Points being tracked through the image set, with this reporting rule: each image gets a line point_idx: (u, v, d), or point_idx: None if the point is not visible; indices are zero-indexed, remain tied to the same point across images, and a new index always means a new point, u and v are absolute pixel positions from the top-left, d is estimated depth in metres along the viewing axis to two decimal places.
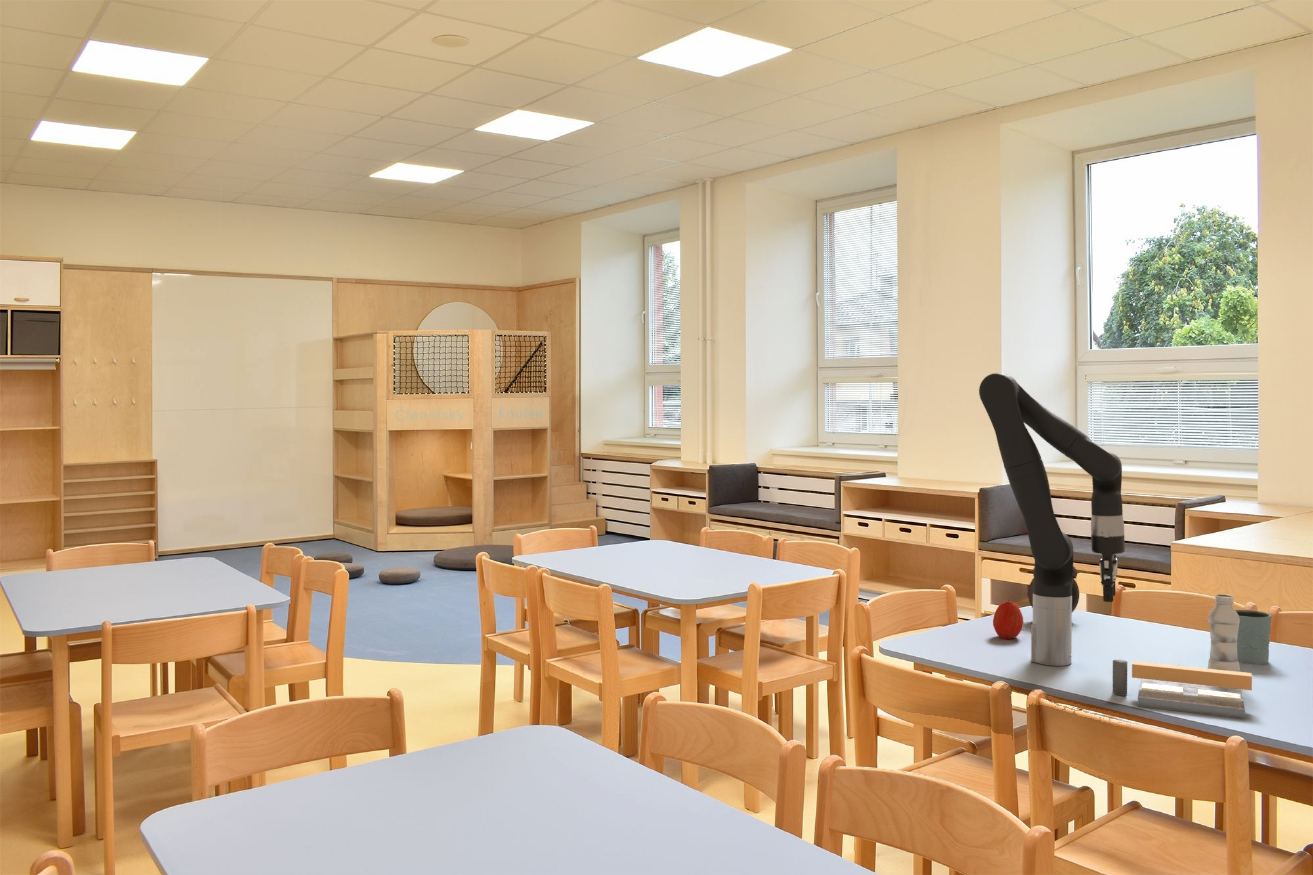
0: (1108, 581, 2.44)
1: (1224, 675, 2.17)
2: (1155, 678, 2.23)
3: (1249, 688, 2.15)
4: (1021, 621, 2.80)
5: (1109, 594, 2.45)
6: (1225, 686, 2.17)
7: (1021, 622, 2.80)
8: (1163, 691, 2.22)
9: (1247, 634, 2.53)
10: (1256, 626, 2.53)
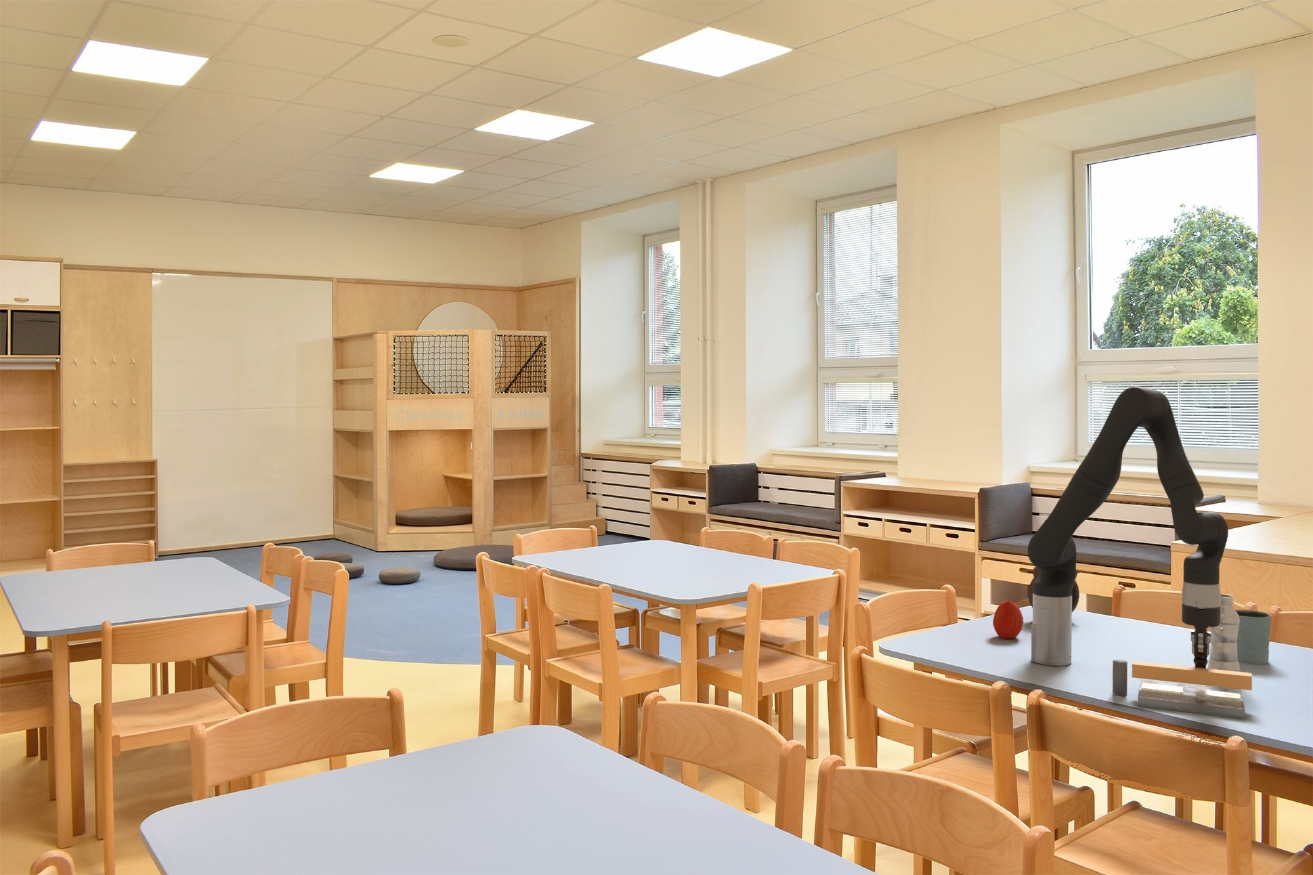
0: (1202, 659, 2.21)
1: (1224, 675, 2.17)
2: (1155, 678, 2.23)
3: (1249, 688, 2.15)
4: (1021, 621, 2.80)
5: None
6: (1225, 686, 2.17)
7: (1021, 622, 2.80)
8: (1163, 691, 2.22)
9: (1247, 634, 2.53)
10: (1256, 626, 2.53)
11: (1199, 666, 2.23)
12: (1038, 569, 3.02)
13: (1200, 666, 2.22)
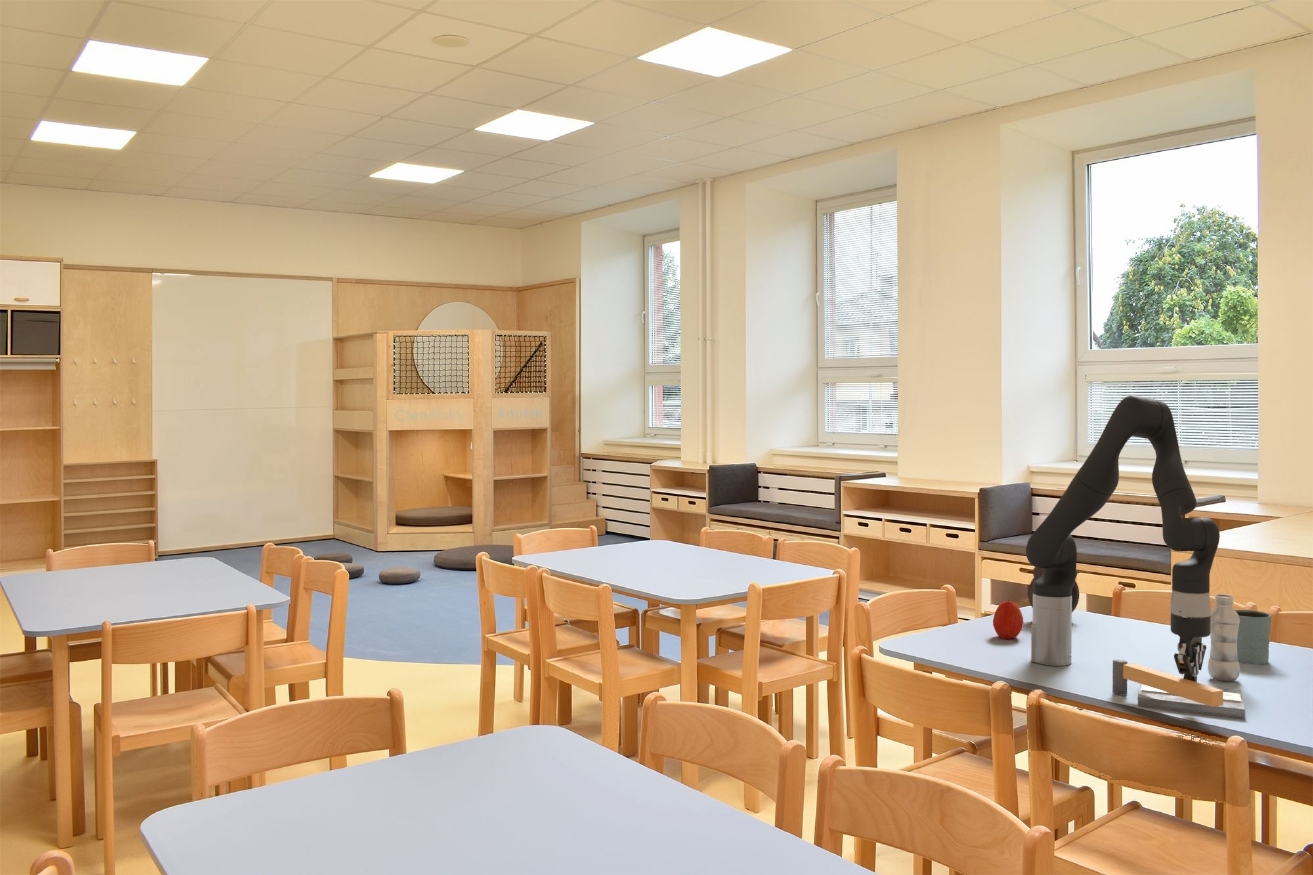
0: (1187, 671, 2.12)
1: (1191, 687, 2.08)
2: (1139, 681, 2.20)
3: (1210, 704, 2.04)
4: (1021, 621, 2.80)
5: None
6: (1191, 699, 2.08)
7: (1021, 622, 2.80)
8: (1163, 691, 2.22)
9: (1247, 634, 2.53)
10: (1256, 626, 2.53)
11: (1186, 677, 2.14)
12: (1038, 569, 3.02)
13: (1187, 677, 2.14)
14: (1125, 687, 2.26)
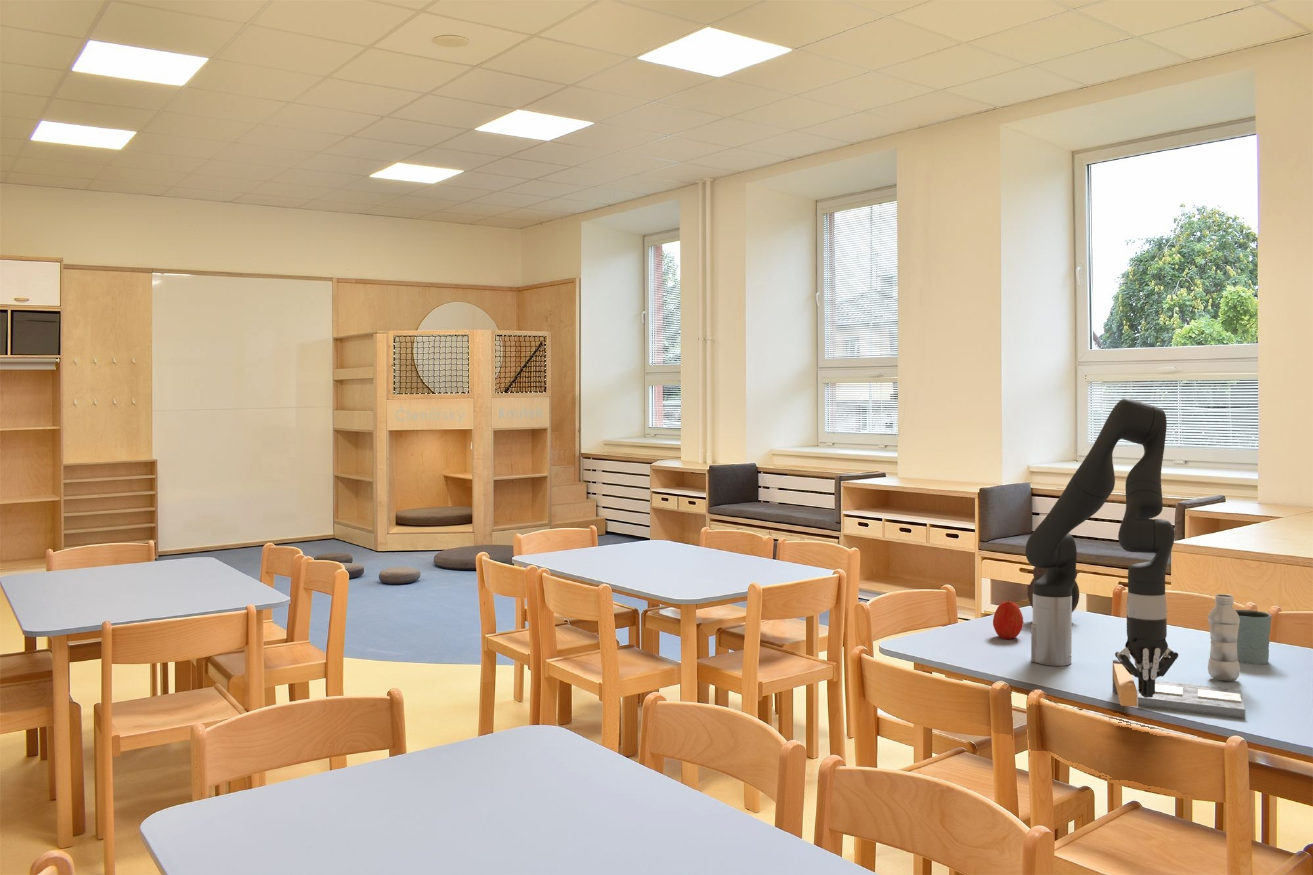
0: None
1: (1119, 685, 2.09)
2: (1114, 680, 2.21)
3: (1120, 703, 2.05)
4: (1021, 621, 2.80)
5: (1141, 687, 2.11)
6: None
7: (1021, 622, 2.80)
8: (1163, 691, 2.22)
9: (1248, 634, 2.53)
10: (1256, 626, 2.53)
11: (1139, 679, 2.12)
12: (1038, 569, 3.02)
13: (1140, 680, 2.12)
14: None
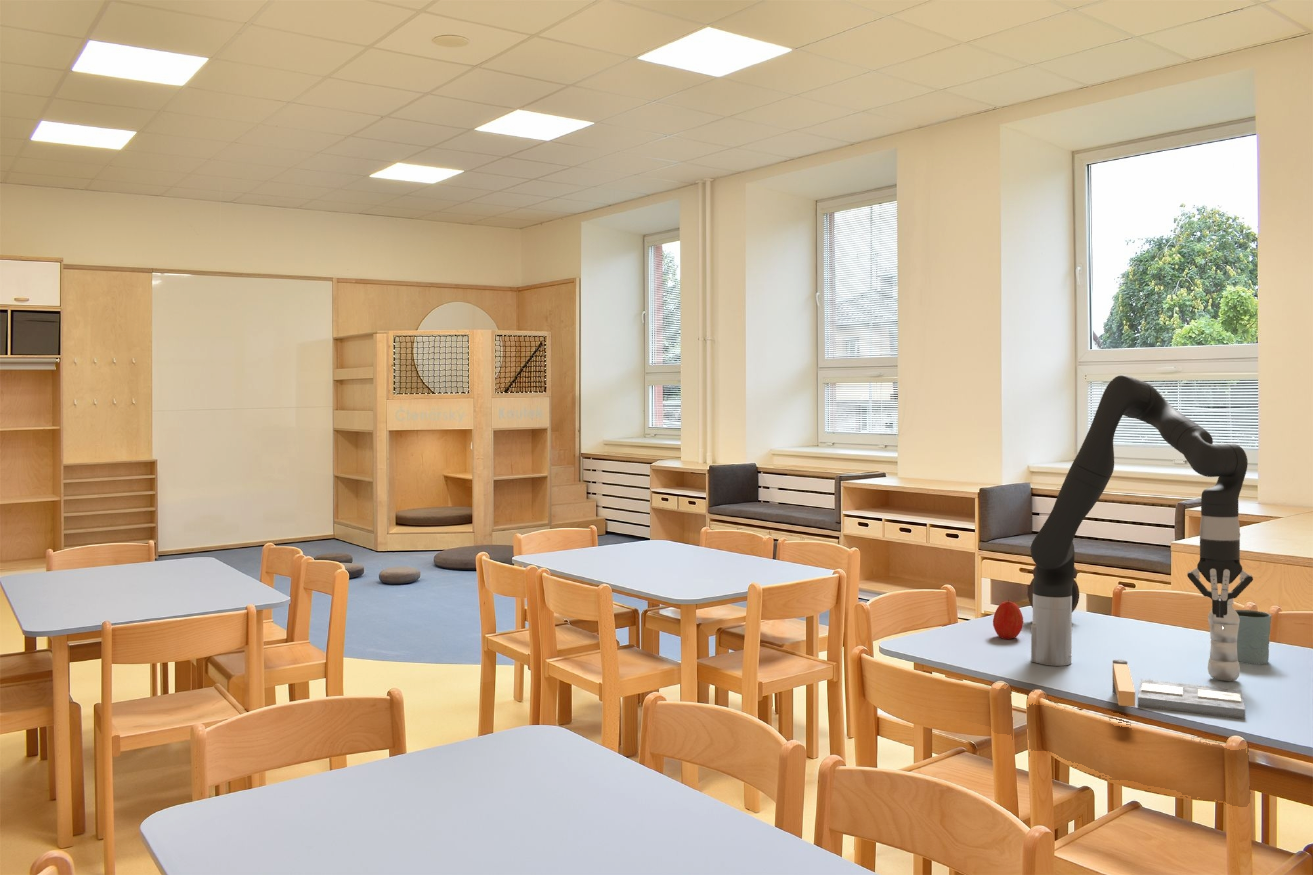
0: None
1: (1117, 685, 2.09)
2: None
3: (1118, 702, 2.05)
4: (1021, 621, 2.80)
5: (1212, 607, 2.18)
6: (1117, 697, 2.09)
7: (1021, 622, 2.80)
8: (1163, 691, 2.22)
9: (1247, 634, 2.53)
10: (1256, 626, 2.53)
11: (1212, 600, 2.19)
12: None
13: None
14: None
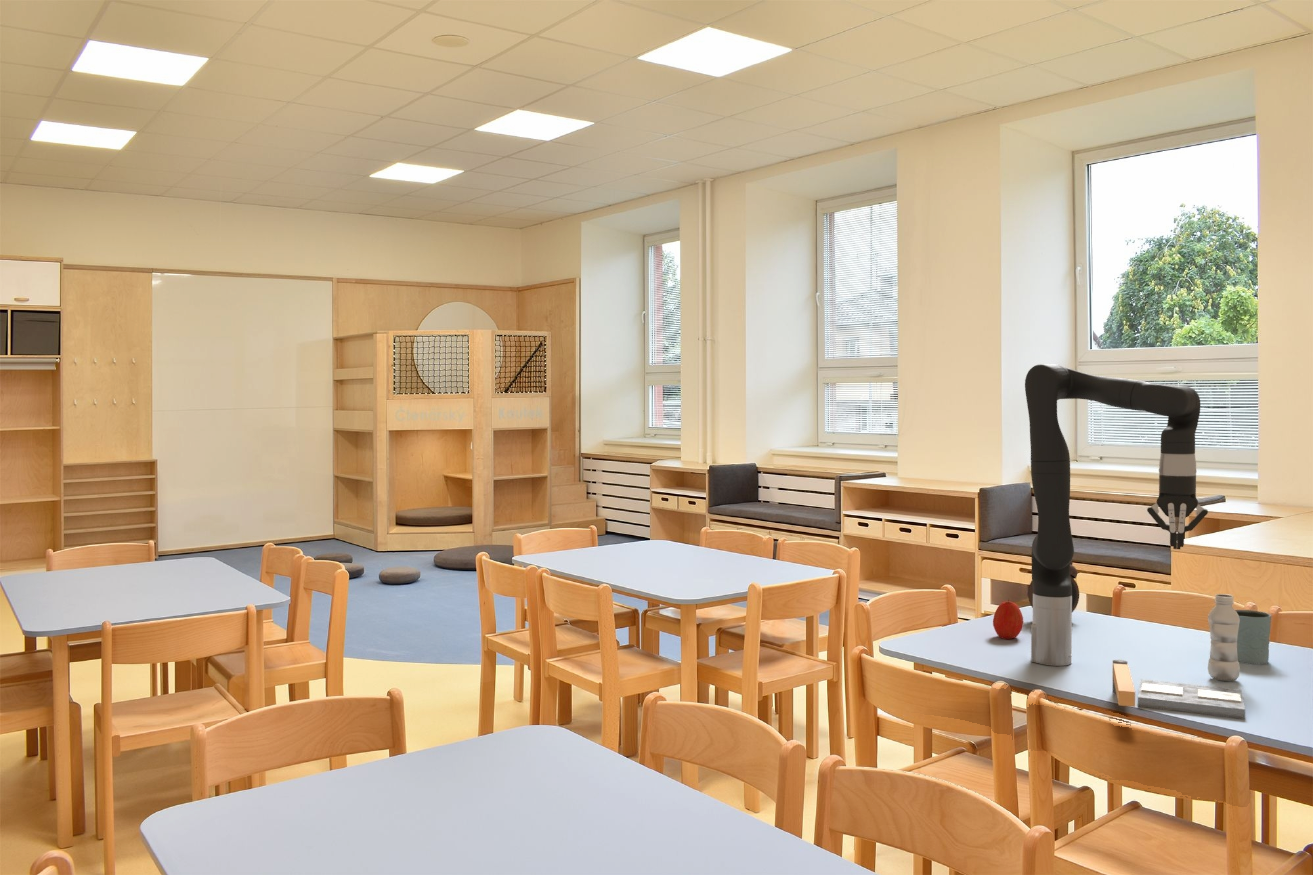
0: None
1: (1117, 685, 2.09)
2: None
3: (1118, 702, 2.05)
4: (1021, 621, 2.80)
5: None
6: (1117, 697, 2.09)
7: (1021, 622, 2.80)
8: (1163, 691, 2.22)
9: (1248, 634, 2.53)
10: (1256, 626, 2.53)
11: (1170, 533, 2.33)
12: None
13: None
14: None
